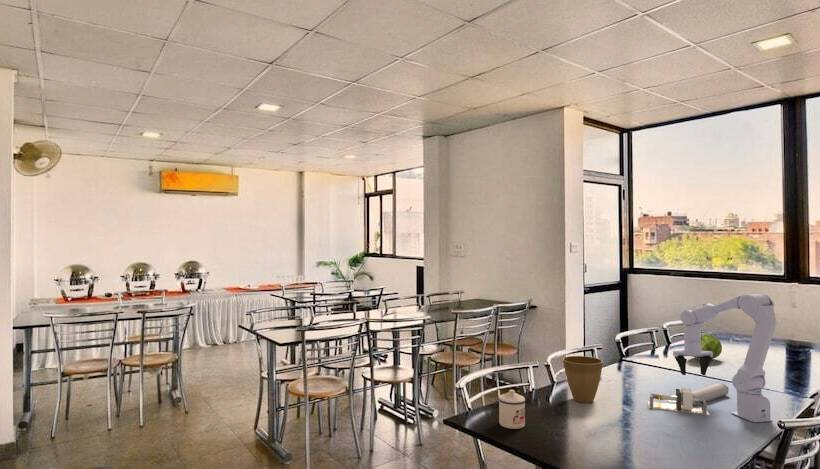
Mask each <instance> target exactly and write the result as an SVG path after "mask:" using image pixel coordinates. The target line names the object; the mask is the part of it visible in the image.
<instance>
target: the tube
mask: <svg viewBox="0 0 820 469" xmlns="http://www.w3.org/2000/svg"><path fill="white" fill-rule="evenodd" d="M691 391H692V398H699V399H701V398H703V399H705V401H706V403H707V402H709V401H712V400H717V399H719V398H721V397H726V396H727V395H728V394H729V387H728V386H727V385H726V384H725V383H723V382H719V381H717V383H714V384H711V385H709V386H708V385H707V386H705V387H701V388H697V389H694V390H691ZM698 405H699V404H693V406H694V407H696V406H698Z"/></svg>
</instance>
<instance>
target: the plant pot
mask: <svg viewBox="0 0 820 469" xmlns="http://www.w3.org/2000/svg"><path fill="white" fill-rule="evenodd" d="M562 362H563V367H564V372H565V377H566V380H567V384H568V387H569V391H570V394H571V396H572V398H573V400H574V401H575V402H578V403H585V404H590V403H592V402H594V400H595V398H596V395H597V392H598V390H599V385H600V381H601V377H602V370H603V362H604V361H603V360H602V359H600V358H596V357H594V356H593V357H592V356H586V355H570V356H569V355H568V356H565V357H563V359H562Z"/></svg>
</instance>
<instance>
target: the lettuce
mask: <svg viewBox="0 0 820 469" xmlns="http://www.w3.org/2000/svg"><path fill="white" fill-rule="evenodd" d="M701 351H711V352H713V357H710V358H712V359H716V358H718V357H719V356H720V355H721V353H722V351H723V346H722V343H721V341H720V340H719V339H718V337H716V336H714V335H712V334H709V333H703V334H701ZM692 357H693V358H695V359H699V356H692Z"/></svg>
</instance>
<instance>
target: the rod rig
mask: <svg viewBox="0 0 820 469" xmlns="http://www.w3.org/2000/svg"><path fill="white" fill-rule="evenodd" d="M648 395H649V400H648V401H647V405H648V408H649V409H654V410H663V411H670V412H678V413H687V414H695V415H703V416H704V415H705V416H710V413H709V411H708V406H707V404H708V403H707V402H706V401H705V399H703V398H701V399H699V398H692V403H693V404H698V405H701V406H700V407H699V406H693V410H687V409H683V407H682V404H681V409H682V410H679V409H678V408H677V406H676V402H677V396H676V395H672V394H671V395H670V394H662V393H653V392H649V394H648ZM654 400H657V401H658V402H656V401H654ZM659 401H667V402H675V403H667V402H659ZM681 402H683V397H681Z"/></svg>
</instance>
